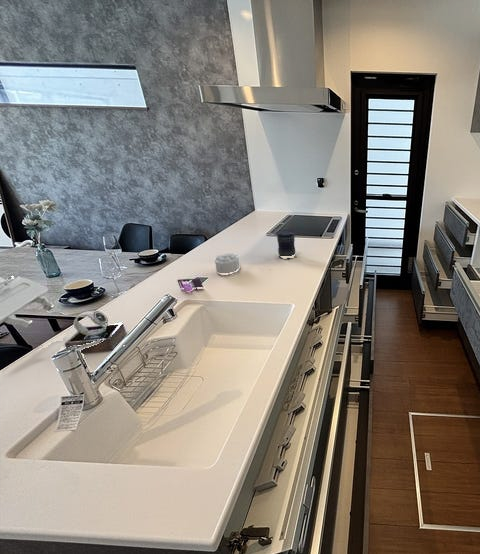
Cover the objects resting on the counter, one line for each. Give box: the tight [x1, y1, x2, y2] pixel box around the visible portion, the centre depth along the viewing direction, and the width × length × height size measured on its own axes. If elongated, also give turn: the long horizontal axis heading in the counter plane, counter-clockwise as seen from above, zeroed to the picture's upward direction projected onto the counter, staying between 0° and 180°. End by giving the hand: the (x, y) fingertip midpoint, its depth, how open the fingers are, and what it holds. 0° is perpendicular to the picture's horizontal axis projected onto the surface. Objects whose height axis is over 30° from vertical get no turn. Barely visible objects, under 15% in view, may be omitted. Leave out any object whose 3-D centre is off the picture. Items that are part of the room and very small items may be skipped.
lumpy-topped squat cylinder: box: [214, 253, 241, 278], centre depth 156 cm, size 10×13×9 cm
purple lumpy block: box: [176, 277, 204, 292], centre depth 134 cm, size 7×5×9 cm
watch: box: [73, 310, 109, 340], centre depth 98 cm, size 6×8×11 cm
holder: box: [64, 322, 127, 354], centre depth 99 cm, size 12×10×4 cm
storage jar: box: [276, 229, 296, 256], centre depth 179 cm, size 10×10×15 cm
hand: (41, 316), depth 92 cm, fingers open, 8 cm apart
